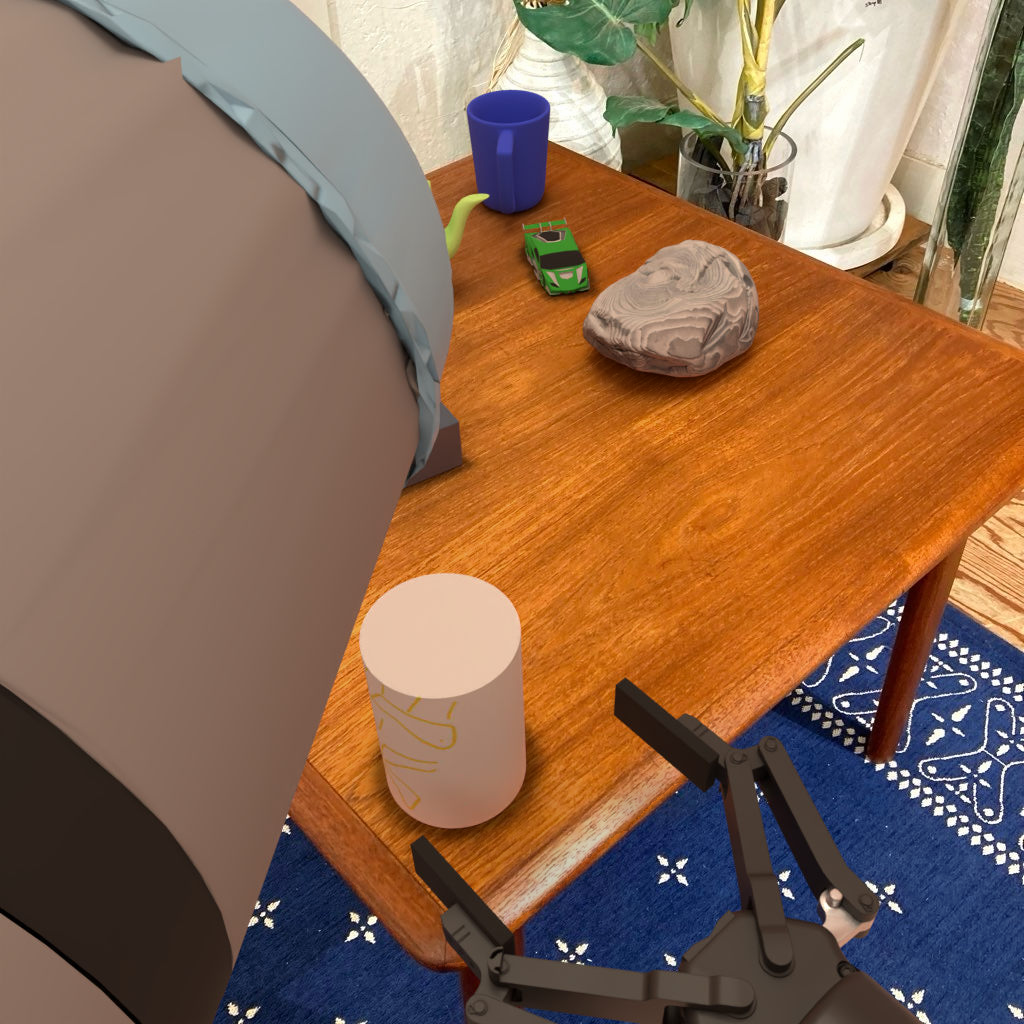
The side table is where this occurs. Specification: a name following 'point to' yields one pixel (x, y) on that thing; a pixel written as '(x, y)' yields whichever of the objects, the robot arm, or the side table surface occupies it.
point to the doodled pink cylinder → (447, 697)
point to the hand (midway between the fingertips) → (524, 769)
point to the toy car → (556, 258)
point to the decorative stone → (677, 312)
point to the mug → (509, 147)
